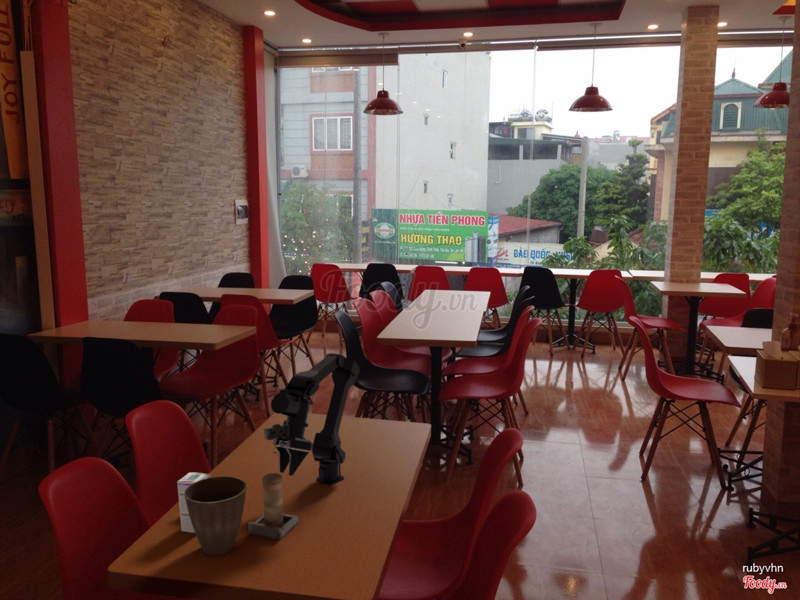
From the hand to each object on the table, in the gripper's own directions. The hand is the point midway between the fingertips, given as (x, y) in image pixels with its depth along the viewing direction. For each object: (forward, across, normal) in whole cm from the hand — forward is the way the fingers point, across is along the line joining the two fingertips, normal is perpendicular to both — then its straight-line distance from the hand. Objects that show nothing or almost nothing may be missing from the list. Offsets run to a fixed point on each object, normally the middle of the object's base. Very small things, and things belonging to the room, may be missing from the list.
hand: (285, 474), depth 175 cm
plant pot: (+20, +6, -15) cm, 26 cm away
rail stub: (+14, +4, -2) cm, 14 cm away
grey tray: (+14, +4, -1) cm, 15 cm away
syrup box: (+18, -7, -20) cm, 27 cm away
